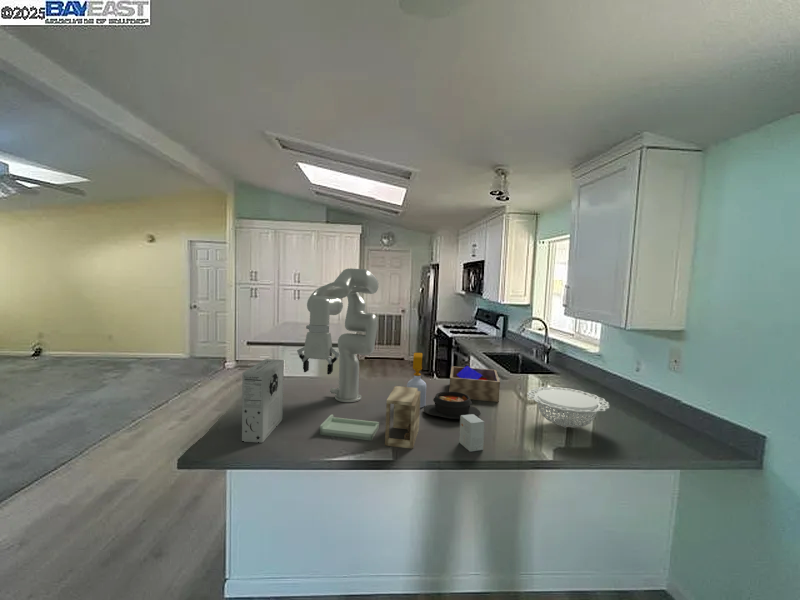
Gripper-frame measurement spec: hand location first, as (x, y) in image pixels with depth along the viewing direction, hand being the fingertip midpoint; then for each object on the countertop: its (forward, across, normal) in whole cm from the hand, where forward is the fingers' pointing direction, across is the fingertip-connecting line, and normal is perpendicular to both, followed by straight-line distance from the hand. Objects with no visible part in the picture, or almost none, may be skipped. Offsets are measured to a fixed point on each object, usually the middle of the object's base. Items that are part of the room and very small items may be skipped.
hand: (317, 372), depth 153 cm
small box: (+22, +60, -1) cm, 64 cm away
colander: (+21, +99, +28) cm, 105 cm away
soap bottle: (+21, +35, +36) cm, 54 cm away
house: (+20, +61, +65) cm, 91 cm away
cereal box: (+22, -18, -8) cm, 29 cm away
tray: (+22, +14, 0) cm, 26 cm away
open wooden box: (+20, +61, +65) cm, 91 cm away
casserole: (+21, +52, +29) cm, 63 cm away
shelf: (+22, +34, 0) cm, 40 cm away
